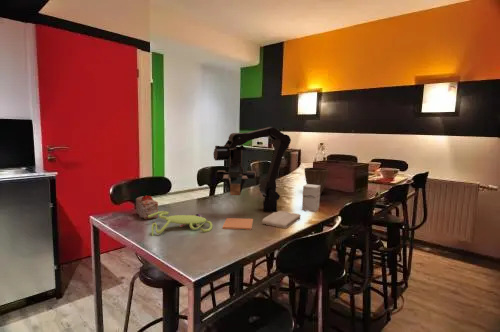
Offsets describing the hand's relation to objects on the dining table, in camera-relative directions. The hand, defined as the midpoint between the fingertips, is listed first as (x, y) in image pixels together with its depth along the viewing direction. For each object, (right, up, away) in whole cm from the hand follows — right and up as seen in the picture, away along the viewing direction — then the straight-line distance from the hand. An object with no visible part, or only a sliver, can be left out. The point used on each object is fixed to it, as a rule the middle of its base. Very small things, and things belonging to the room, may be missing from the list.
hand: (235, 192), depth 141 cm
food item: (-41, -11, -4) cm, 43 cm away
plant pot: (+49, -5, +48) cm, 69 cm away
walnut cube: (0, -1, 0) cm, 1 cm away
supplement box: (+39, -10, +12) cm, 42 cm away
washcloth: (+22, -13, -8) cm, 26 cm away
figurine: (-23, -14, -17) cm, 32 cm away
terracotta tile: (+2, -13, -14) cm, 19 cm away
